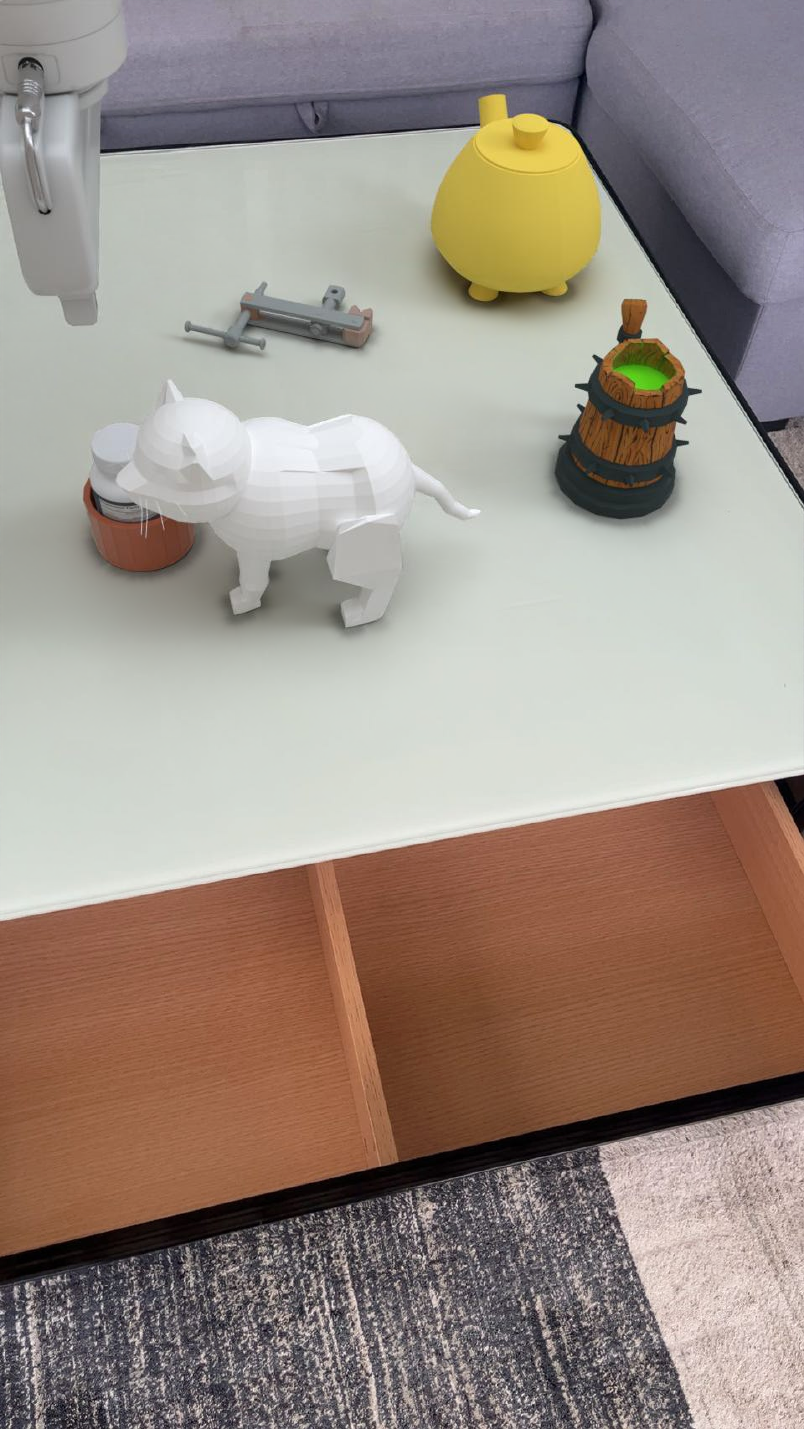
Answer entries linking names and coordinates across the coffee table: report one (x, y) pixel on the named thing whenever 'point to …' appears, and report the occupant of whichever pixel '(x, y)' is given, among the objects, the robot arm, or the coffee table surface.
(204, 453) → the cat figurine
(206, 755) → the coffee table surface
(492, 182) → the teapot
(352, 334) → the clamp
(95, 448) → the pill bottle
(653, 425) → the mug
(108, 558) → the cup
